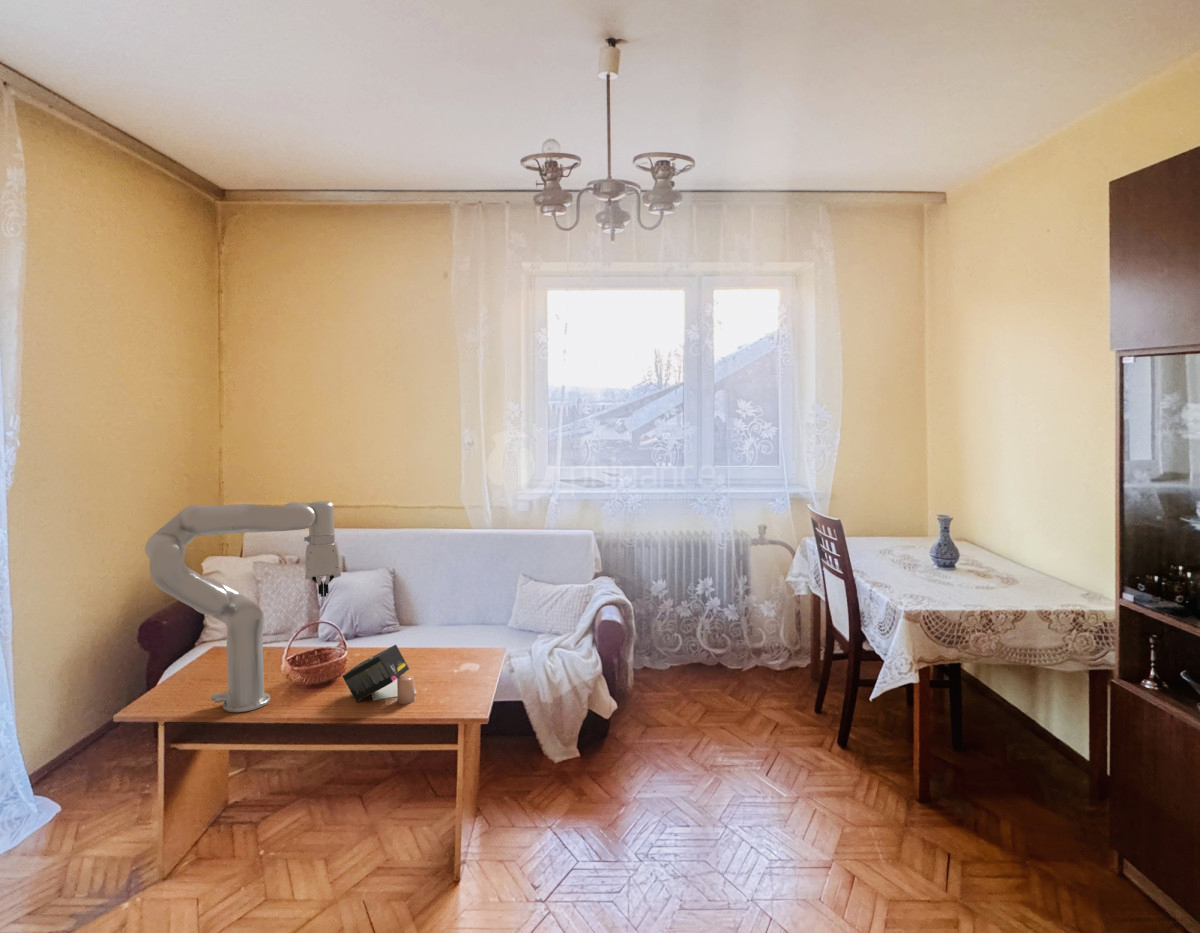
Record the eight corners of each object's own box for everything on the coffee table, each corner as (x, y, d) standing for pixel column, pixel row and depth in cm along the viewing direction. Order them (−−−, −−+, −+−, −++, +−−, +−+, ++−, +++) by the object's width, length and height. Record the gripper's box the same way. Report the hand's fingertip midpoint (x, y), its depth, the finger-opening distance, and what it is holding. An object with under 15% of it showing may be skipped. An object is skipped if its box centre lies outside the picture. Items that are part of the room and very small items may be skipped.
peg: (398, 705, 198) (398, 682, 197) (396, 698, 202) (396, 676, 202) (415, 702, 199) (415, 680, 199) (413, 696, 204) (413, 674, 204)
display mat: (372, 700, 201) (372, 699, 201) (370, 682, 215) (370, 681, 215) (416, 694, 206) (416, 693, 206) (411, 676, 220) (411, 676, 220)
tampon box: (355, 703, 199) (393, 683, 196) (340, 676, 200) (378, 656, 196) (374, 687, 210) (410, 669, 207) (360, 662, 210) (396, 643, 207)
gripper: (295, 543, 205) (297, 601, 206) (347, 540, 210) (348, 596, 211) (297, 539, 212) (298, 595, 213) (346, 536, 217) (348, 591, 218)
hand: (323, 595), depth 212 cm, fingers closed
